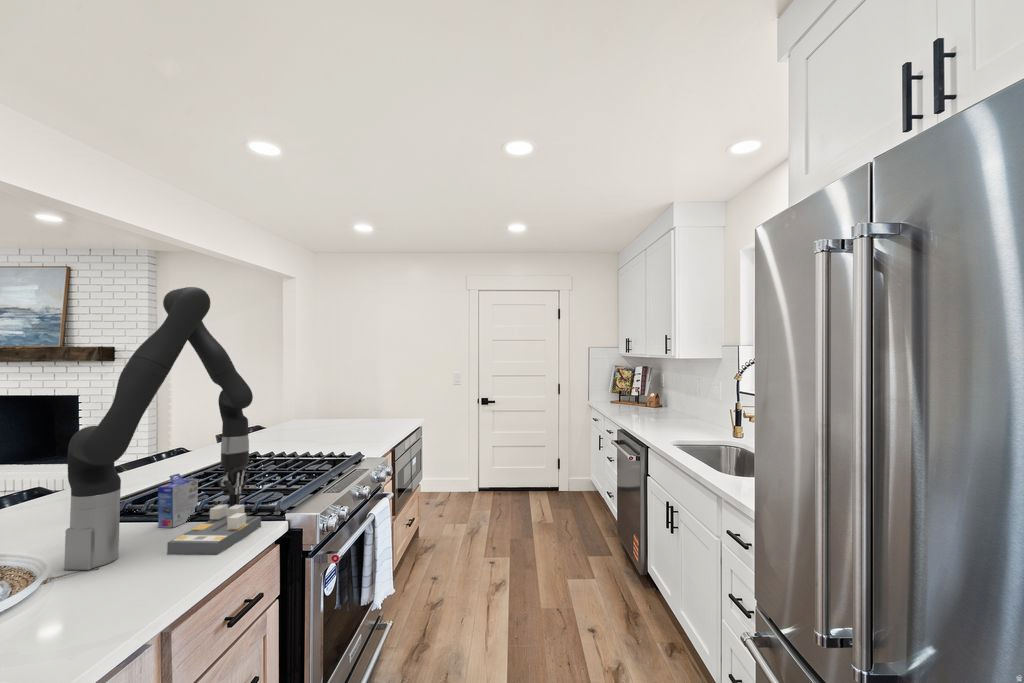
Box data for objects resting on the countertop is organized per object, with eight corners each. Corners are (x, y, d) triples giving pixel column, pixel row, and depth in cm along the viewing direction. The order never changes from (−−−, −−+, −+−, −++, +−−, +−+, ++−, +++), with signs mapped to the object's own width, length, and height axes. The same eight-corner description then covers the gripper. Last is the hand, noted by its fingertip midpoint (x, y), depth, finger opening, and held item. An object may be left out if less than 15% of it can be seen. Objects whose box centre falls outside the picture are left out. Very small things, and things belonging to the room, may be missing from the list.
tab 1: (219, 519, 136) (219, 508, 136) (209, 519, 136) (210, 508, 136) (227, 514, 140) (228, 504, 140) (218, 514, 140) (218, 504, 140)
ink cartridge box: (182, 516, 148) (183, 470, 148) (198, 517, 147) (199, 471, 148) (155, 527, 138) (157, 478, 139) (172, 528, 138) (174, 479, 138)
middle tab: (236, 519, 135) (236, 509, 136) (226, 519, 135) (226, 509, 136) (244, 514, 139) (244, 504, 140) (235, 514, 139) (235, 504, 140)
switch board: (218, 554, 119) (218, 542, 119) (166, 554, 119) (166, 542, 120) (261, 526, 139) (262, 516, 139) (217, 526, 139) (217, 515, 140)
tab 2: (237, 529, 128) (237, 518, 128) (227, 529, 128) (227, 517, 128) (245, 523, 132) (246, 513, 132) (236, 523, 132) (236, 513, 132)
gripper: (236, 445, 152) (235, 499, 151) (209, 454, 139) (208, 513, 138) (258, 445, 152) (258, 499, 151) (233, 454, 139) (232, 513, 138)
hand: (234, 505), depth 145 cm, fingers closed
